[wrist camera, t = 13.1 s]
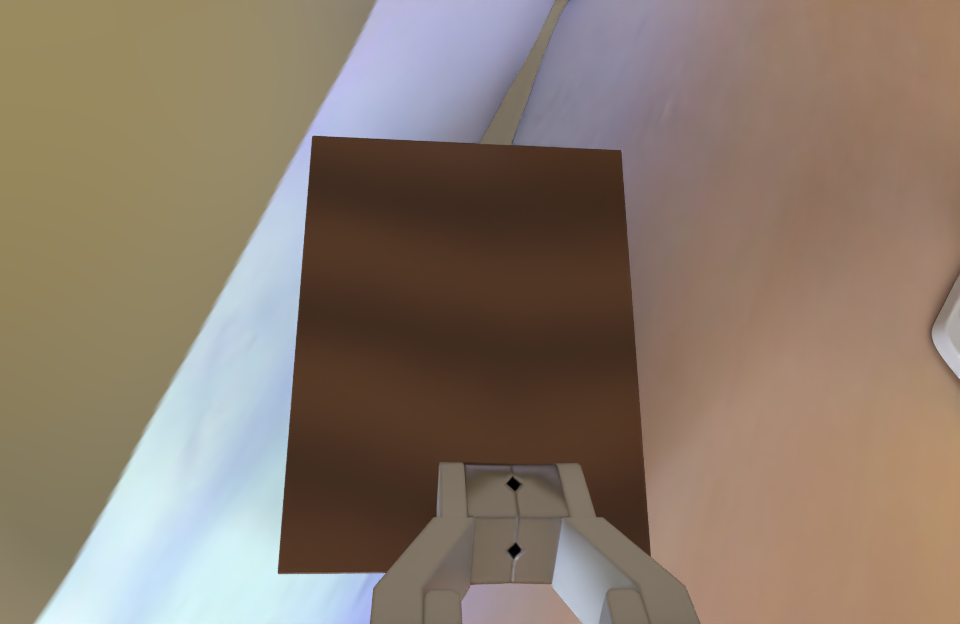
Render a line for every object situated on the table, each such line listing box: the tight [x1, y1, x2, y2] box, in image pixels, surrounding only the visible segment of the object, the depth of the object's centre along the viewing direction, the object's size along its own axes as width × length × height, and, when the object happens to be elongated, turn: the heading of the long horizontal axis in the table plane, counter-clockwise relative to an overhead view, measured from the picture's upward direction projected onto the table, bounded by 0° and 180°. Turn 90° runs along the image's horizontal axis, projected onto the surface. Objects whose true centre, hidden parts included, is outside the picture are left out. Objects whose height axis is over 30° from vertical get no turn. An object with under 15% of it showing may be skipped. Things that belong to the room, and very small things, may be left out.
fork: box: [479, 0, 569, 145], centre depth 41 cm, size 3×24×2 cm, turn 157°
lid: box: [278, 136, 651, 574], centre depth 26 cm, size 17×13×1 cm
